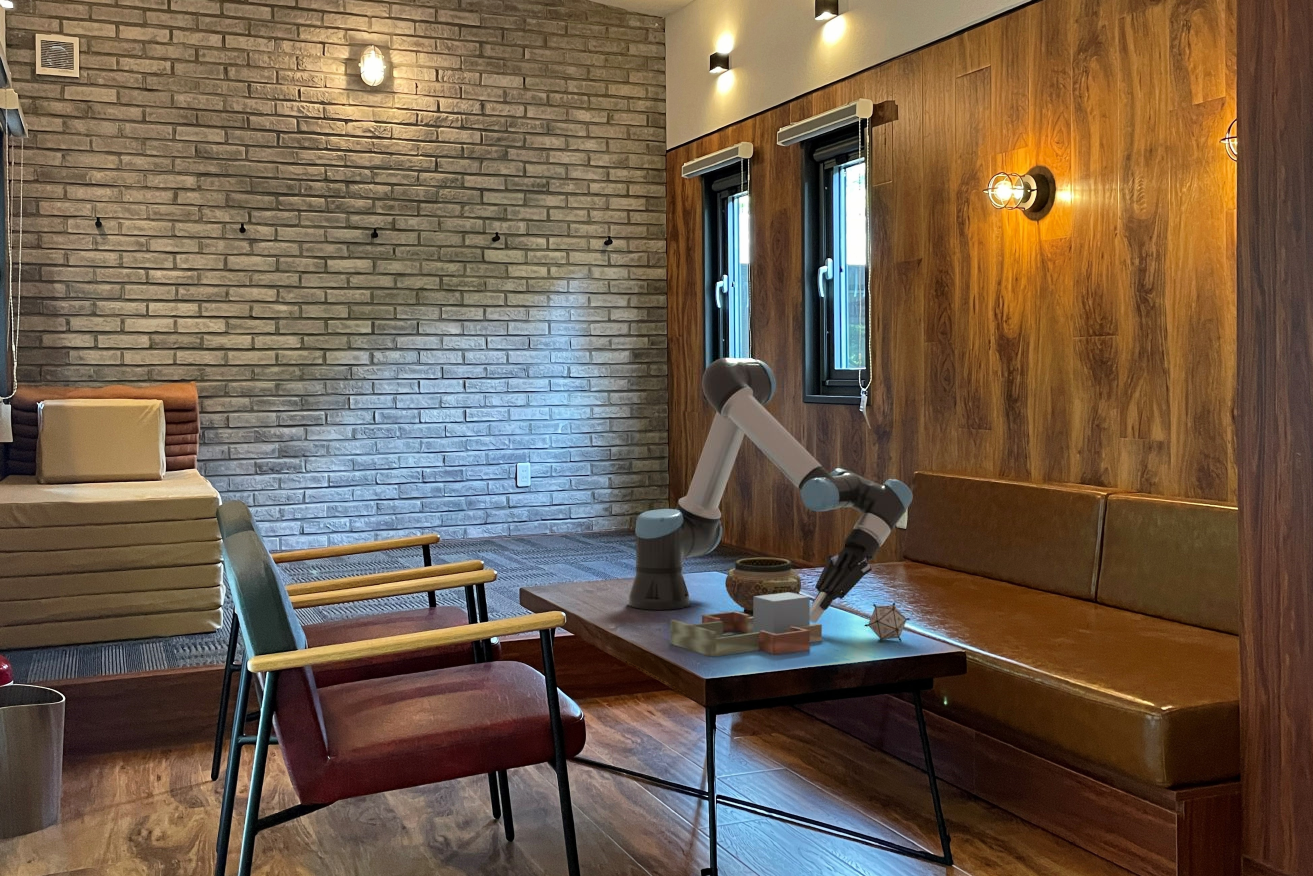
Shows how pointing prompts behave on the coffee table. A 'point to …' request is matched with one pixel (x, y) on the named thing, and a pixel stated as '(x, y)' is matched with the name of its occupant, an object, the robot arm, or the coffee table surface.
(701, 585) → the coffee table surface
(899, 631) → the game die
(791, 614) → the slate block
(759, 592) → the ceramic bowl
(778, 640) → the low zigzag wall
